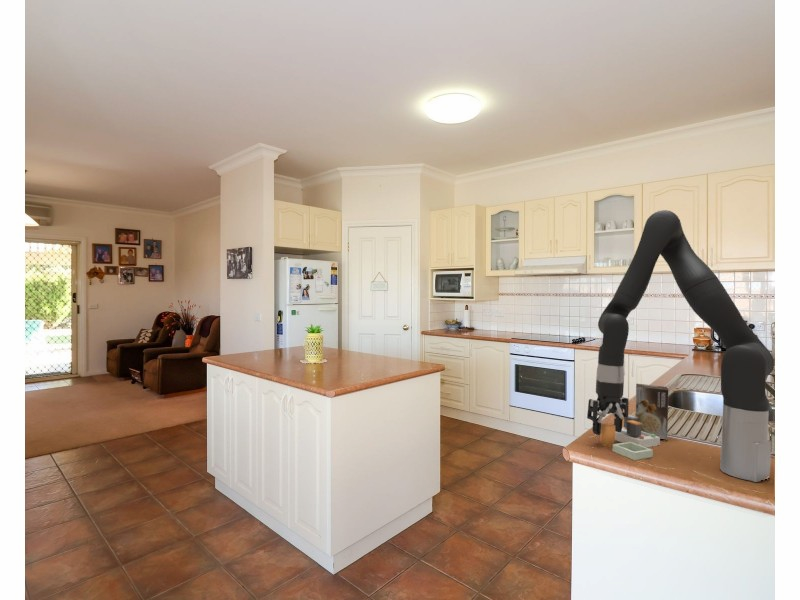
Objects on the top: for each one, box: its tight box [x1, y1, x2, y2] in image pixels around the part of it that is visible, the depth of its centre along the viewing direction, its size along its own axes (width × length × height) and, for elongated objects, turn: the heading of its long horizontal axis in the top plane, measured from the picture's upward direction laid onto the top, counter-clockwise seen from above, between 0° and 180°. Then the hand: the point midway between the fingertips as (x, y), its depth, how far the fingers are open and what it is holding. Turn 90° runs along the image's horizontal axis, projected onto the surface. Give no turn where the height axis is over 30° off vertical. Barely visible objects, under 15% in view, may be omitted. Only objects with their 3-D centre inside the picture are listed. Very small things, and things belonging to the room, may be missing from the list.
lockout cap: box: [599, 422, 616, 448], centre depth 134 cm, size 4×4×6 cm
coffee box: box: [634, 383, 669, 441], centre depth 144 cm, size 9×6×16 cm
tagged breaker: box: [627, 420, 642, 437], centre depth 135 cm, size 3×2×4 cm
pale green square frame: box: [612, 442, 654, 461], centre depth 126 cm, size 7×7×2 cm
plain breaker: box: [623, 414, 638, 428], centre depth 141 cm, size 3×2×4 cm
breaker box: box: [615, 426, 661, 448], centre depth 138 cm, size 11×9×3 cm
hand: (607, 432), depth 134 cm, fingers open, 8 cm apart
